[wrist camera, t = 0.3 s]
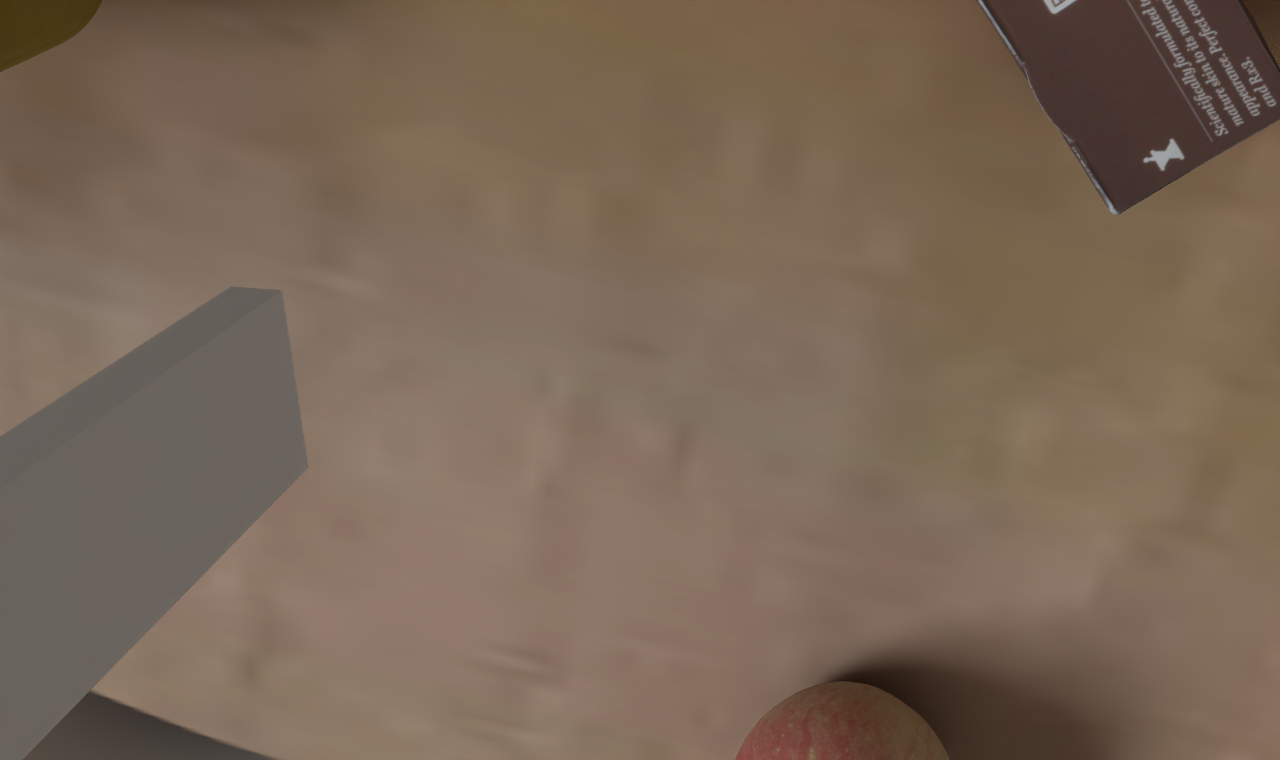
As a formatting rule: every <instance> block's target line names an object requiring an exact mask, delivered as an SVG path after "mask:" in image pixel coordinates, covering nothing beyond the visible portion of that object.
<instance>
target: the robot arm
mask: <svg viewBox="0 0 1280 760" xmlns="http://www.w3.org/2000/svg"><path fill="white" fill-rule="evenodd" d="M307 468H308V462H307V455H306V448H305V442H304V435H303V428H302V421H301V415H300V408H299V401H298V395H297V388H296V381H295V375H294V368H293V361H292V355H291V348H290V341H289V334H288V328H287V321H286V314H285V308H284V301H283V294H282V290H272V289H258V288H244V287H230V288H228V289H227V290H225V291H224V292H222V293H220V294H219V295H217V296H216V297H214V298H213V299H211V300H210V301H208V302H207V303H205V304H203V305H202V306H200V307H199V308H197V309H196V310H194V311H193V312H191V313H190V314H188V315H187V316H185V317H183V318H182V319H180V320H179V321H177V322H176V323H174V324H173V325H171V326H170V327H168V328H167V329H165V330H163V331H162V332H160V333H159V334H157V335H156V336H154V337H153V338H151V339H150V340H148V341H147V342H145V343H143V344H142V345H140V346H139V347H137V348H136V349H134V350H133V351H131V352H130V353H128V354H127V355H125V356H123V357H122V358H120V359H119V360H117V361H116V362H114V363H113V364H111V365H110V366H108V367H107V368H105V369H103V370H102V371H100V372H99V373H97V374H96V375H94V376H93V377H91V378H90V379H88V380H87V381H85V382H83V383H82V384H80V385H79V386H77V387H76V388H74V389H73V390H71V391H70V392H68V393H67V394H65V395H63V396H62V397H60V398H59V399H57V400H56V401H54V402H53V403H51V404H50V405H48V406H47V407H45V408H43V409H42V410H40V411H39V412H37V413H36V414H34V415H33V416H31V417H30V418H28V419H27V420H25V421H23V422H22V423H20V424H19V425H17V426H16V427H14V428H13V429H11V430H10V431H8V432H7V433H5V434H3V435H2V436H0V760H22V759H23V758H24V757H25V756H26V755H27V754H28V753H29V752H30V751H31V750H32V749H33V748H34V747H35V746H36V745H37V744H38V743H39V742H40V741H41V740H42V739H43V738H44V737H45V736H46V735H47V734H48V733H49V732H50V730H51V729H53V728H54V727H55V725H56V724H58V722H59V721H60V720H61V719H62V718H63V717H64V716H65V715H66V714H67V713H68V712H69V711H70V710H71V709H72V708H73V707H74V706H75V705H76V704H77V703H78V702H79V701H80V700H81V699H82V698H83V697H84V696H85V695H86V694H87V693H88V692H89V691H90V690H91V689H92V688H93V687H94V686H95V685H96V684H97V683H98V682H99V681H100V680H101V679H102V678H103V677H104V675H105V674H106V673H107V672H108V671H109V670H110V669H111V668H112V667H113V666H114V665H115V664H116V663H117V662H118V661H119V660H120V659H121V658H122V657H123V656H124V655H125V654H126V653H127V652H128V651H129V650H130V649H131V648H132V647H133V646H134V645H135V644H136V643H137V642H138V641H139V640H140V639H141V638H142V637H143V636H144V635H145V634H146V633H147V632H148V631H149V630H150V628H151V627H152V626H153V625H154V624H155V623H156V622H157V621H158V620H159V619H160V618H161V617H162V616H163V615H164V614H165V613H166V612H167V611H168V610H169V609H170V608H171V607H172V606H173V605H174V604H175V603H176V602H177V601H178V600H179V599H180V598H181V597H182V596H183V595H184V594H185V593H186V592H187V591H188V590H189V589H190V588H191V587H192V586H193V585H194V584H195V583H196V581H197V580H198V579H199V578H200V577H201V576H202V575H203V574H204V573H205V572H206V571H207V570H208V569H209V568H210V567H211V566H212V565H213V564H214V563H215V562H216V561H217V560H218V559H219V558H220V557H221V556H222V555H223V554H224V553H225V552H226V551H227V550H228V549H229V548H230V547H231V546H232V545H233V544H234V543H235V542H236V541H237V540H238V539H239V538H240V537H241V536H242V534H243V533H244V532H245V531H246V530H247V529H248V528H249V527H250V526H251V525H252V524H253V523H254V522H255V521H256V520H257V519H258V518H259V517H260V516H261V515H262V514H263V513H264V512H265V511H266V510H267V509H268V508H269V507H270V506H271V505H272V504H273V503H274V502H275V501H276V500H277V499H278V498H279V497H280V496H281V495H282V494H283V493H284V492H285V491H286V490H287V488H288V487H289V486H290V485H291V484H292V483H293V482H294V481H295V480H296V479H297V478H298V477H299V476H300V475H301V474H302V473H303V472H304V471H305V470H306V469H307Z"/></svg>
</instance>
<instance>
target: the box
mask: <svg viewBox="0 0 1280 760" xmlns="http://www.w3.org/2000/svg"><path fill="white" fill-rule="evenodd" d="M976 1H977V2H978V4H979V5H980V7H981V8H982V10H983V11H984V13H985V14H986V16H987V17H988V19H989V20H990V22H991V23H992V25H993V27H994V28H995V30H996V31H997V33H998V34H999V36H1000V38H1001V39H1002V41H1003V42H1004V44H1005V46H1006V47H1007V49H1008V50H1009V52H1010V53H1011V55H1012V56H1013V58H1014V59H1015V61H1016V63H1017V64H1018V66H1019V68H1020V69H1021V71H1022V72H1023V74H1024V75H1025V77H1026V78H1027V80H1028V81H1029V84H1030V87H1031V89H1032V91H1033V93H1034V95H1035V97H1036V99H1037V101H1038V103H1039V104H1040V106H1041V108H1042V109H1043V111H1044V112H1045V114H1046V115H1047V117H1048V118H1049V119H1050V120H1051V122H1052V123H1053V124H1054V125H1055V126H1056V127H1057V128H1058V129H1059V130H1060V132H1061V134H1062V135H1063V137H1064V139H1065V140H1066V142H1067V144H1068V145H1069V147H1070V148H1071V150H1072V152H1073V153H1074V155H1075V156H1076V158H1077V159H1078V161H1079V162H1080V164H1081V166H1082V167H1083V169H1084V170H1085V172H1086V174H1087V175H1088V177H1089V178H1090V180H1091V182H1092V183H1093V185H1094V186H1095V188H1096V190H1097V191H1098V193H1099V194H1100V196H1101V197H1102V199H1103V200H1104V202H1105V204H1106V205H1107V207H1108V208H1109V210H1110V211H1111V212H1112V213H1113V214H1115V215H1118V214H1121V213H1122V212H1124V211H1125V210H1127V209H1128V208H1130V207H1131V206H1133V205H1135V204H1136V203H1138V202H1140V201H1142V200H1143V199H1145V198H1147V197H1148V196H1150V195H1152V194H1153V193H1155V192H1157V191H1158V190H1160V189H1161V188H1163V187H1165V186H1166V185H1168V184H1170V183H1171V182H1173V181H1175V180H1177V179H1178V178H1180V177H1182V176H1183V175H1185V174H1187V173H1188V172H1190V171H1191V170H1193V169H1195V168H1196V167H1198V166H1200V165H1201V164H1203V163H1205V162H1206V161H1208V160H1210V159H1212V158H1214V157H1215V156H1217V155H1219V154H1220V153H1222V152H1224V151H1225V150H1227V149H1229V148H1231V147H1233V146H1235V145H1236V144H1238V143H1240V142H1241V141H1243V140H1245V139H1247V138H1249V137H1250V136H1252V135H1254V134H1256V133H1257V132H1259V131H1261V130H1262V129H1264V128H1266V127H1267V126H1269V125H1271V124H1272V123H1274V122H1276V121H1278V120H1280V68H1279V67H1278V65H1277V63H1276V61H1275V59H1274V57H1273V55H1272V54H1271V52H1270V50H1269V48H1268V46H1267V44H1266V42H1265V40H1264V38H1263V36H1262V34H1261V32H1260V30H1259V28H1258V26H1257V24H1256V23H1255V21H1254V19H1253V17H1252V16H1251V14H1250V13H1249V11H1248V10H1247V8H1246V7H1245V5H1244V3H1243V2H1242V0H976Z"/></svg>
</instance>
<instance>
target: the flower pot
mask: <svg viewBox="0 0 1280 760" xmlns="http://www.w3.org/2000/svg"><path fill="white" fill-rule="evenodd" d="M101 2H102V0H0V72H1V71H3V70H6V69H8V68H10V67H12V66H14V65H17V64H19V63H21V62H23V61H25V60H28V59H30V58H32V57H34V56H36V55H38V54H40V53H42V52H44V51H46V50H49V49H51V48H53V47H55V46H57V45H59V44H61V43H63V42H65V41H66V40H68V39H70V38H71V37H73V36H75V35H76V34H77V33H78V32H79V31H81V30H82V29H83V28H84V27H85V26H86V25H87V24H88V22H89V21H90V20H91V19H92V17H93V16H94V14H95V13H96V11H97V9H98V8H99V6H100V4H101Z"/></svg>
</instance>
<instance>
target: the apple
mask: <svg viewBox="0 0 1280 760" xmlns="http://www.w3.org/2000/svg"><path fill="white" fill-rule="evenodd" d="M735 760H950V759H949V756H948V754H947V752H946V750H945V748H944V746H943V745H942V743H941V741H940V740H939V738H938V737H937V735H936V734H935V732H934V731H933V730H932V728H931V727H930V726H929V725H928V723H927V722H926V721H925V720H924V719H923V718H922V717H921V716H920V715H919V714H918V713H917V712H916V711H914V710H913V709H912V708H910V707H909V706H908V705H906V704H905V703H903V702H902V701H901V700H899V699H898V698H896V697H894V696H893V695H891V694H889V693H887V692H885V691H883V690H881V689H879V688H877V687H874V686H871V685H868V684H863V683H856V682H847V681H838V682H830V683H824V684H819V685H816V686H813V687H810V688H807V689H804V690H802V691H800V692H798V693H796V694H794V695H792V696H790V697H789V698H787V699H785V700H783V701H782V702H781V703H779V704H778V705H777V706H775V707H774V708H773V709H772V710H770V711H769V712H768V713H767V714H766V715H765V716H763V717H762V718H761V720H760V721H759V722H758V723H757V724H756V725H755V727H754V728H753V729H752V731H751V732H750V733H749V735H748V736H747V738H746V740H745V741H744V743H743V745H742V747H741V749H740V751H739V753H738V755H737V757H736V759H735Z"/></svg>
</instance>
